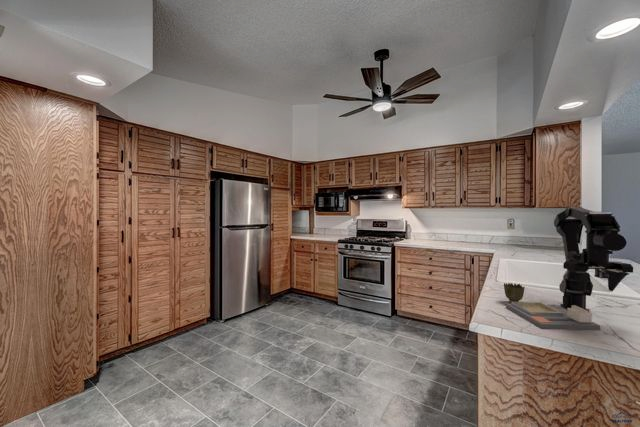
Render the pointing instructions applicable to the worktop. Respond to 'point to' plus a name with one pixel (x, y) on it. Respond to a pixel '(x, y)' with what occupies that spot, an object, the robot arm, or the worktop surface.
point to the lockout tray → (537, 309)
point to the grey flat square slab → (554, 320)
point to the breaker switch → (579, 314)
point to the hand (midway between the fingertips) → (596, 290)
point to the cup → (513, 292)
